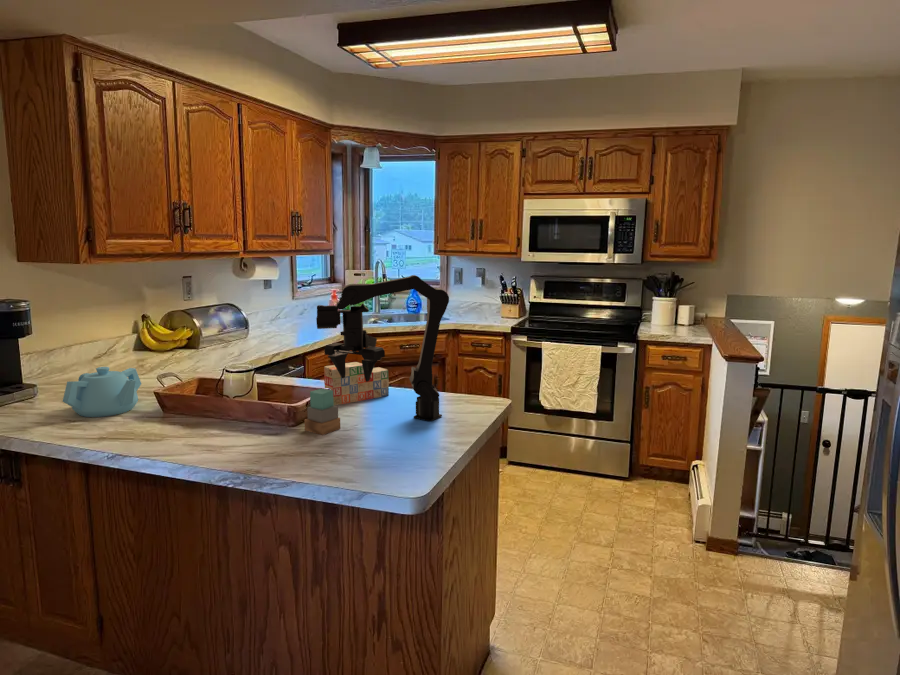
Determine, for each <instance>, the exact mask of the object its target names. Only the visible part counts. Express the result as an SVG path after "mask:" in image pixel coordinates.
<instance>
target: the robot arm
mask: <svg viewBox="0 0 900 675" xmlns="http://www.w3.org/2000/svg"><path fill="white" fill-rule="evenodd" d="M411 290H414V291H416V292H417V293H419V295H422V296H423V297H425V298H426V313H427V314H426V315H427V316H426V323H425V328H424V332H423V333H424V334H423V339H422V343H421V349H420V354H419V360H418V363H417V365H416V367H415V366H411V374H410V376H409V382H410V384H411V387H412V388H413V389H412V390H413V392H414V393H415V394H417V395H418V396H416V401H415V415H414V416H413V419H418V420H423V421H426V422H427V421H428V422H433V421H435V420H437V419H439V418H442V417H443V415H442V413H441V414H440V394H439V391H438V390H437V388H436V386H434V385H433V363H434V362H433V361H434V356H435V351H436V346H437V340H438V337H439V336H438V335H439V331H440V325H441V322H442V319H443V316H444V315H445V313H446V310H447V308H448V305H449V303H450V296H449V294H448V293H447V291H445V289H444V290H443V289H442V288H438V287H433V286H432V285H430V284H428V283H427V282H425V281H424V280H422V279H421V277H419V276H418V275H415V274H413V275H410V276H406V277H401V278H396V279H392V280H384V281H381V282H380V281H379V282H375V283H350V284H349V283H348V284H347V285H345V286H344V287H343V289H342V291H341V297H340V299H339V300H338V301H337V302H336V305H335V304H334V305H333V304H332V305H321V304H318V305H316V318H315V319H316V320H315V321H316V329H317V330H321V329H322V330H325V329H327V330H328V329H338V326H339V325H340V326H341V324H342V329H343V330H342V331H340V336H343V343H342V342H334V343H328V344H326V345H325V347H324V355H325V356H327V358H328V359H330V361H331V362H332V364H333V365H335V367H336V368H337V370H338V372H339V374H340V376H341V377H342V378H345V373H346V372H345V363H346V360H347V357H348V354H350V355H359V356H361V358H363V359H362V360H361V364H362V366H363V371H364V377H365V380H366V382H368V381H369V380H370V377H371V374H372V370H373V368H375V365H376V364H377V362H378V361H379V360H382V358H385V357H386V352H385V348H383V346H381V347H380V346H376V345H377V340H378V338H377V337H374V336H372V335H368V332H367V330H365V329H364V321H363V317H364V316H363V313H368V312H369V311H370V310H369V308H368V307H367V306H366V305H365V304H364V302H366V301H368V300H370V299H373V298H376V297H380V296H384V295H385V296H386V295H390V294H396V293H400V292H405V291H411ZM359 304H360V305H359ZM349 306H350V309H346V308H347V307H349ZM341 314H342V322H341Z"/></svg>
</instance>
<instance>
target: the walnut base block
mask: <svg viewBox="0 0 900 675" xmlns="http://www.w3.org/2000/svg"><path fill="white" fill-rule="evenodd" d="M340 429H341V417H339V416H338V418H337V419H334V420H330V421H327V422H324V423H320V422H316V421H313V420H309V419H308V418H305V419H304V431H305V430H306V431H305V432H308V431H310V432H309V433H312V432H313V434H317V435H319V436H320V435H322V436H325V435H327V434H330V433H332V432H335V431H338V430H340Z"/></svg>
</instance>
